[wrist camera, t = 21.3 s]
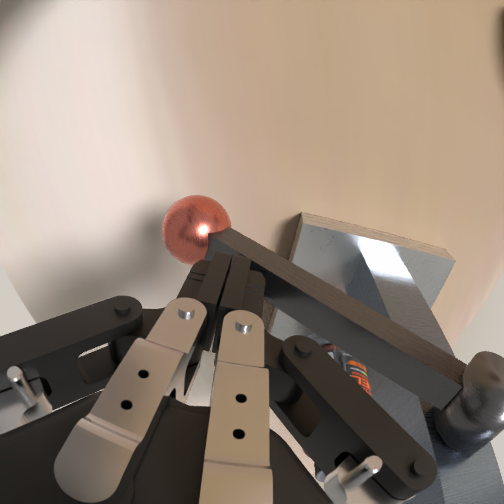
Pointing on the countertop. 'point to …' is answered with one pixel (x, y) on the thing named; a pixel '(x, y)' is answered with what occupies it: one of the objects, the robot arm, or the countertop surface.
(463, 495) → the press
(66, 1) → the countertop surface
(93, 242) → the countertop surface
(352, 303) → the lever
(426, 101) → the countertop surface
